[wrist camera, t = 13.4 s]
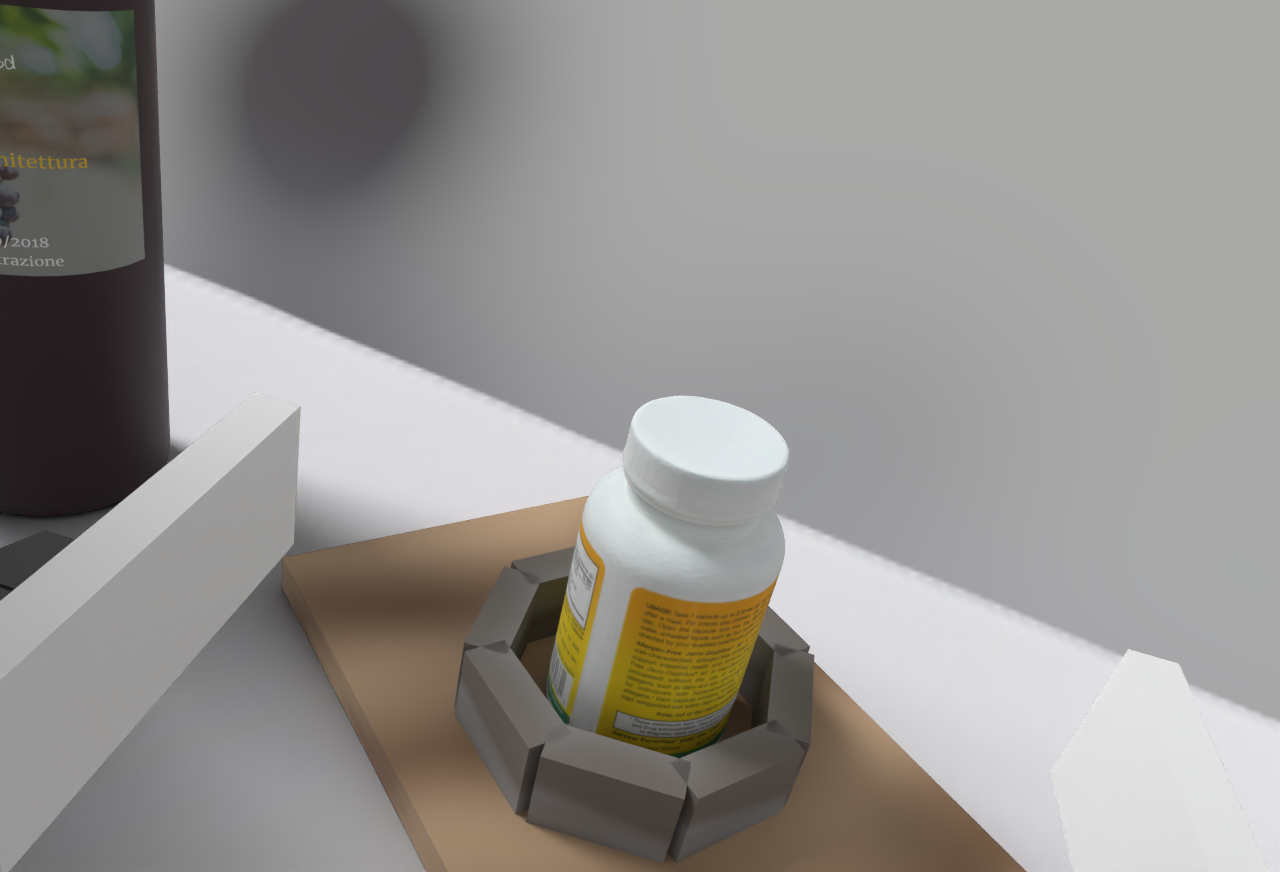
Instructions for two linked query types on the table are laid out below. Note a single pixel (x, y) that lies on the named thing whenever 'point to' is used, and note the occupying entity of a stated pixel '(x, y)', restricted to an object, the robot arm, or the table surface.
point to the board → (452, 801)
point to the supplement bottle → (671, 577)
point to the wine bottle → (80, 256)
